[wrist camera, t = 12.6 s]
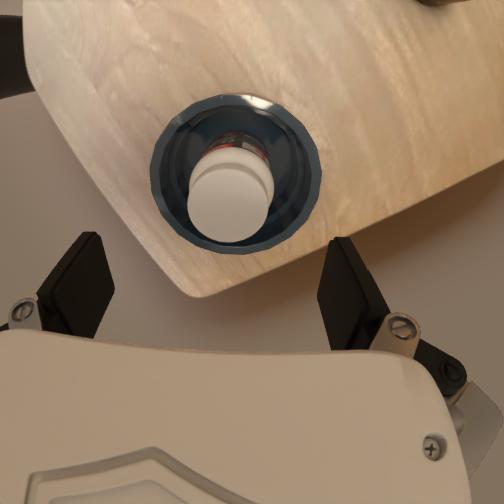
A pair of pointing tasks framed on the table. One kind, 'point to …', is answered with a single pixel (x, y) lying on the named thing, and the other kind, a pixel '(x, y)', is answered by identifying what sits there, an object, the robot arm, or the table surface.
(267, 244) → the blue bowl
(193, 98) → the table surface
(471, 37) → the table surface
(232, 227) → the pill bottle
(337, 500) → the robot arm
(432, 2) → the supplement bottle
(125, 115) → the table surface
